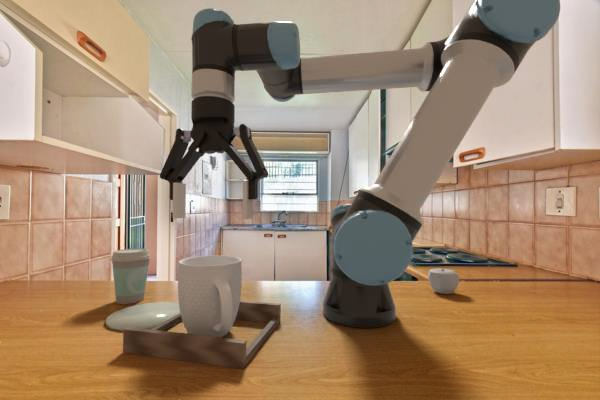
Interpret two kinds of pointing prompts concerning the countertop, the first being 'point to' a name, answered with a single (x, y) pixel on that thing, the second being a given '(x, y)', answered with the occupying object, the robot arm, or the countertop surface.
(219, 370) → the countertop surface
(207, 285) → the mug
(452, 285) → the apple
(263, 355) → the countertop surface
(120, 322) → the trivet
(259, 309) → the frame
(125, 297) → the coffee cup
